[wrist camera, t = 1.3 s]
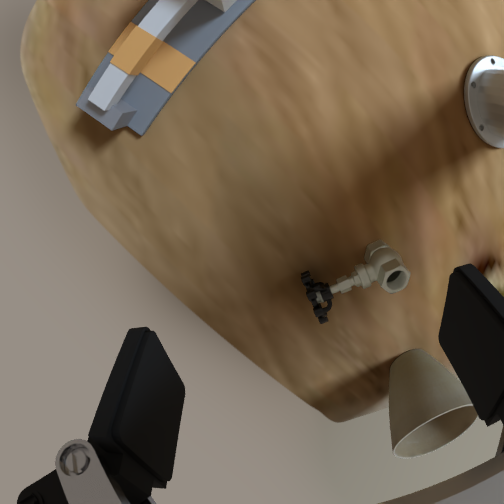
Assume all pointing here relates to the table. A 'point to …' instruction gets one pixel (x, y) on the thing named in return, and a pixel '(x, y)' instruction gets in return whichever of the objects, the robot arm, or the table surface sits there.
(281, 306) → the table surface
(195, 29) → the rail
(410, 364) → the plant pot
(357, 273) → the valve
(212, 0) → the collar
